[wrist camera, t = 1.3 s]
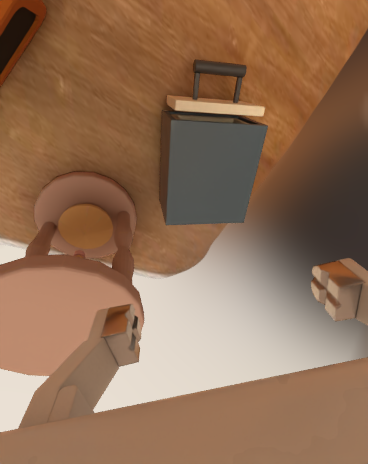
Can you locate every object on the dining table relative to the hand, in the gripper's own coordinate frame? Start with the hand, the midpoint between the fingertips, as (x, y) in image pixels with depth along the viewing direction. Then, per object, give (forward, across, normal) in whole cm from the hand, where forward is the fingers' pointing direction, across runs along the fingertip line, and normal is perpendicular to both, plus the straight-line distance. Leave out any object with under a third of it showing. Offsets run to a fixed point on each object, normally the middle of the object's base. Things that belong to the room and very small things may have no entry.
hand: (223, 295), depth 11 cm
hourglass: (+36, +18, +7) cm, 41 cm away
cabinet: (+36, -4, +1) cm, 37 cm away
